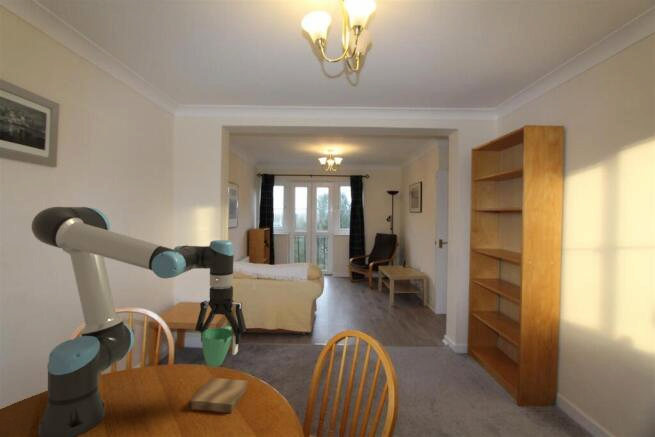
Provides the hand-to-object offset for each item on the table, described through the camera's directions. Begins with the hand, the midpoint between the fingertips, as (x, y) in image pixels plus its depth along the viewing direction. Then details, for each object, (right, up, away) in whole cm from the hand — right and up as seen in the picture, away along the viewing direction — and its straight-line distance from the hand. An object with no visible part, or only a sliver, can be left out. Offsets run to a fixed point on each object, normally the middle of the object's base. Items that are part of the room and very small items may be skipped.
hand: (220, 352), depth 105 cm
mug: (-1, -3, 0) cm, 3 cm away
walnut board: (0, -16, +1) cm, 16 cm away
